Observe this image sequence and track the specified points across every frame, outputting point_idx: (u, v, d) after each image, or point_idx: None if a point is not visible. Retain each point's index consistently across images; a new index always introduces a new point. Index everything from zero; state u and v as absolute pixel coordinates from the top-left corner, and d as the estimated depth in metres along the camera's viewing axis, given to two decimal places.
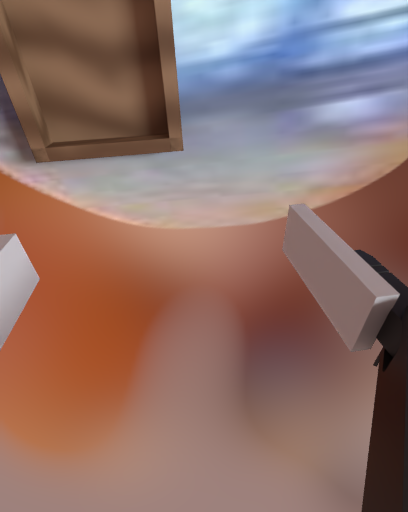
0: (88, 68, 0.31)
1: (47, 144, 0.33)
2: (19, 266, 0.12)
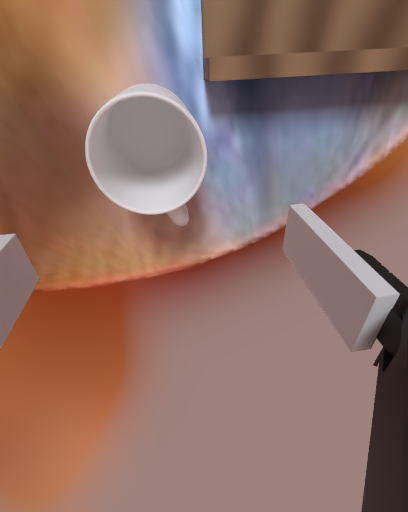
0: None
1: None
2: (19, 266, 0.12)
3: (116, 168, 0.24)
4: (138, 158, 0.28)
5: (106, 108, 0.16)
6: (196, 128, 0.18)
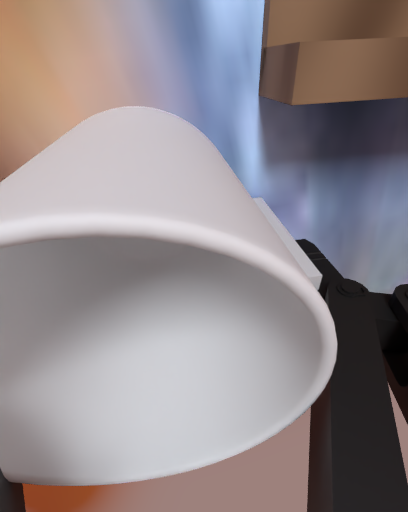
0: None
1: None
2: None
3: (66, 299, 0.10)
4: (121, 243, 0.14)
5: None
6: (321, 320, 0.04)
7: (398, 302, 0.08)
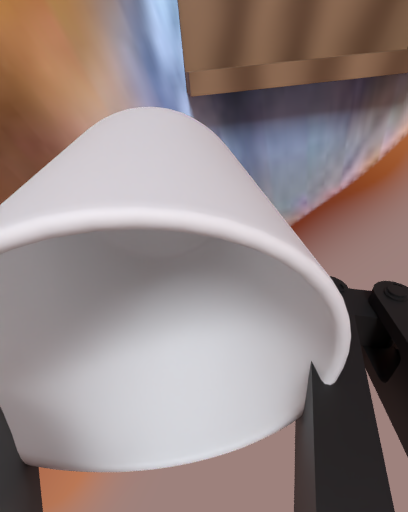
0: None
1: None
2: None
3: (80, 294, 0.11)
4: (132, 241, 0.15)
5: None
6: (337, 313, 0.05)
7: (377, 299, 0.08)
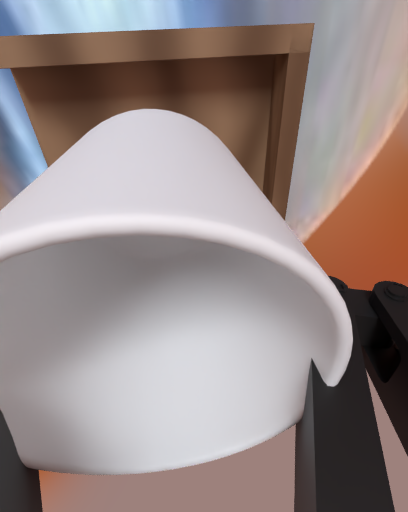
0: None
1: None
2: None
3: (81, 296, 0.11)
4: (132, 242, 0.15)
5: None
6: (339, 317, 0.05)
7: (377, 299, 0.08)
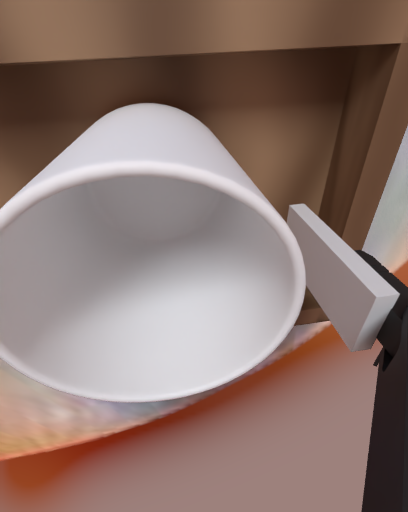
0: None
1: (311, 297, 0.20)
2: None
3: (89, 266, 0.12)
4: (132, 225, 0.16)
5: (15, 214, 0.05)
6: (291, 249, 0.06)
7: None
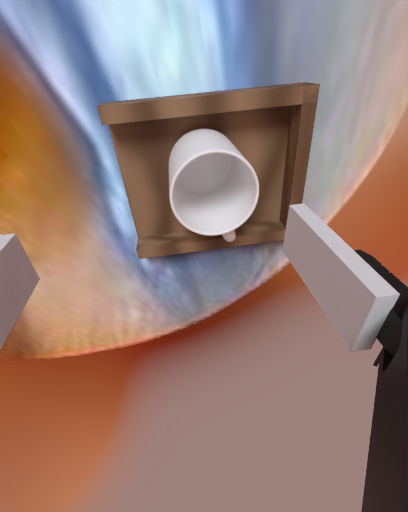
0: None
1: (282, 226, 0.37)
2: (19, 266, 0.12)
3: (179, 196, 0.30)
4: (190, 184, 0.34)
5: (189, 162, 0.22)
6: (253, 172, 0.23)
7: None
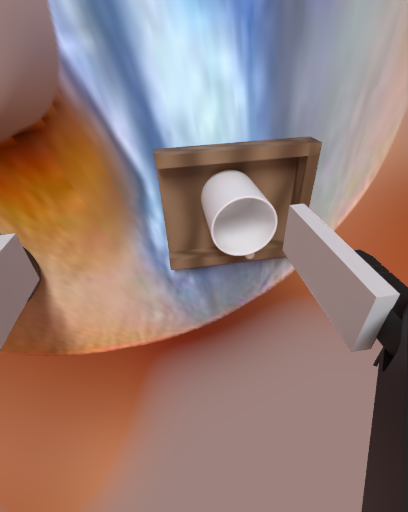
0: None
1: None
2: (19, 266, 0.12)
3: None
4: None
5: (228, 204, 0.30)
6: (273, 211, 0.32)
7: None
